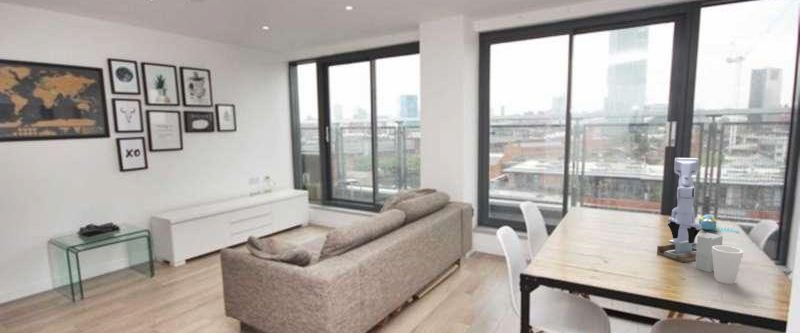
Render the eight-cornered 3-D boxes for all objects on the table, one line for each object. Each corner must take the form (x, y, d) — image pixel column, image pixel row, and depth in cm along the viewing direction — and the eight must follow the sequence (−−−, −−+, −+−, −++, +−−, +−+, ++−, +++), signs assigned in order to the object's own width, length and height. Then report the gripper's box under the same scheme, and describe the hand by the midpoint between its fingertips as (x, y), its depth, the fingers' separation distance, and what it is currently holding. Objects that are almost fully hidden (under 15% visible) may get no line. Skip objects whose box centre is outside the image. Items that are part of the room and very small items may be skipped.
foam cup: (703, 276, 162) (706, 246, 160) (724, 275, 163) (727, 244, 161) (724, 286, 153) (727, 253, 151) (746, 284, 153) (749, 252, 152)
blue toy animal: (740, 215, 221) (740, 222, 210) (739, 230, 223) (739, 237, 211) (679, 209, 239) (676, 215, 228) (678, 223, 240) (676, 229, 229)
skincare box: (705, 264, 174) (707, 232, 172) (721, 269, 169) (723, 235, 167) (694, 268, 171) (696, 235, 169) (710, 273, 165) (712, 238, 163)
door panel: (687, 252, 187) (688, 240, 187) (691, 253, 186) (692, 241, 185) (674, 254, 185) (675, 242, 184) (678, 255, 183) (679, 243, 183)
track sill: (683, 249, 194) (684, 241, 194) (711, 257, 182) (711, 249, 181) (657, 253, 189) (657, 245, 189) (683, 262, 177) (683, 254, 177)
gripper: (663, 209, 188) (662, 237, 190) (693, 216, 175) (691, 246, 176) (674, 208, 190) (673, 235, 192) (705, 215, 177) (703, 244, 178)
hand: (682, 240), depth 184 cm, fingers open, 7 cm apart
